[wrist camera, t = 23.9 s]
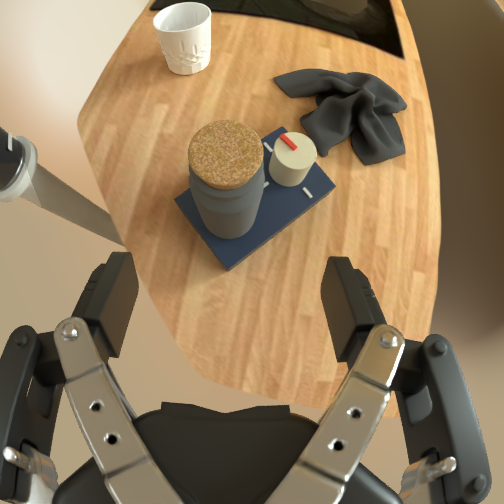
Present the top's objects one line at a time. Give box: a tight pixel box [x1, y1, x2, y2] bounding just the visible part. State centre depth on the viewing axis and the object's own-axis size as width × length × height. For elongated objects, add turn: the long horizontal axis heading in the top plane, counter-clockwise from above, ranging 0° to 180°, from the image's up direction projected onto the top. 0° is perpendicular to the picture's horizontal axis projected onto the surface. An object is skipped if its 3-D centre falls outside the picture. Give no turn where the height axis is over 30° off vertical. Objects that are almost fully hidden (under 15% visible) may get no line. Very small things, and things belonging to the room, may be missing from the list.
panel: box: [174, 126, 336, 272], centre depth 34 cm, size 17×10×3 cm, turn 128°
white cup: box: [153, 2, 211, 75], centre depth 34 cm, size 8×8×10 cm
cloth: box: [274, 69, 407, 165], centre depth 36 cm, size 22×19×6 cm
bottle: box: [188, 120, 265, 239], centre depth 25 cm, size 6×6×15 cm
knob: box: [269, 132, 317, 187], centre depth 31 cm, size 4×4×5 cm
